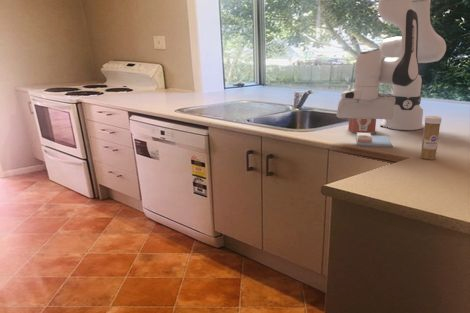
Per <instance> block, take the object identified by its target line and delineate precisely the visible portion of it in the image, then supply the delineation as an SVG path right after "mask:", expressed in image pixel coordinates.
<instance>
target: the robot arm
mask: <svg viewBox="0 0 470 313" xmlns="http://www.w3.org/2000/svg"><path fill="white" fill-rule="evenodd" d="M377 8H378V14H379V16H380V18H381V19H382V20H384V21H385V22H387V23H388V24H391V25H393V26H395V27H397V28H398V29H399V30H400V32H401V35H400V36H393V37H388V38H384V39H383V40H382V42H381V43H380V45H379V47H369V48H363V49H361V50H359V52H358V54H357V57H356V62H355V69H354V75H355V82H354V84H353V88H350V89H347V90H344V91H342V92H341V94H340V97H341V98H340V99H339V101H338V104H337V109H336V117H337V118H338V119H349V118H357V123H358V124H359V130H367V126H368V125H369V124H370V122H371V119H376V120H382V121H381V122H380V125H379V126H380V127H381V126H383V127H382V128H387V127H388V129H392V130H398V131H399V130H401V131H415V130H416V131H417V130H419V129H420V130H421V129H424V127H425V124H423V116H424V115H423V114H424V109H423V108H422V107H421V101H422V98H421V97H422V96H421V92H422V91H421V89H422V81H423V79H422V76H421V75H420V74H419V73H420V72H419V71H420V70H419V69H420V68H419V64H428V63H434V62H439V61H440V60H441V59H442V58H443V57H444V56H445V53H446V51H447V44H446V41H445V39H444V37H442V36H441V35H440V34H438V33H437V32H436V31H435V29H434V27H433V25H432V23H431V13H430V12H431V0H379V1H378V6H377ZM380 84H385V85H386V84H387V85H392V93H379V91H380ZM361 118H362V119H367V123H366V125H361V124H360V122H359V121H361Z"/></svg>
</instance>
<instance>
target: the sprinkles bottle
mask: <svg viewBox="0 0 470 313" xmlns="http://www.w3.org/2000/svg"><path fill="white" fill-rule="evenodd" d="M441 123H442V117H441V116H438V115H437V116H436V115H427V116H425V117H424V125H425V127H424V128H423V132H422V134H423V135H422V141H421V152H420V156H419V157H420V158H421V159H424V160H435V159H437V149H438V145H439V136H440V129H441Z"/></svg>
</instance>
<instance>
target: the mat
mask: <svg viewBox="0 0 470 313" xmlns="http://www.w3.org/2000/svg"><path fill="white" fill-rule="evenodd" d="M371 136H372V142H358V141H357V134H355V141H356V145H357V146H359V147H376V148H379V147H380V148H393V147H394V146H393V145H394V144H393V143H392V142H391V140H390V138H389V137H388V135H375V134H374V135H372V134H371Z"/></svg>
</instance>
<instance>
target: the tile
mask: <svg viewBox="0 0 470 313" xmlns="http://www.w3.org/2000/svg"><path fill="white" fill-rule="evenodd" d="M356 135H357V140H356V142H357V141H358V142H372V136H371V135H372V133H356Z"/></svg>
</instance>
